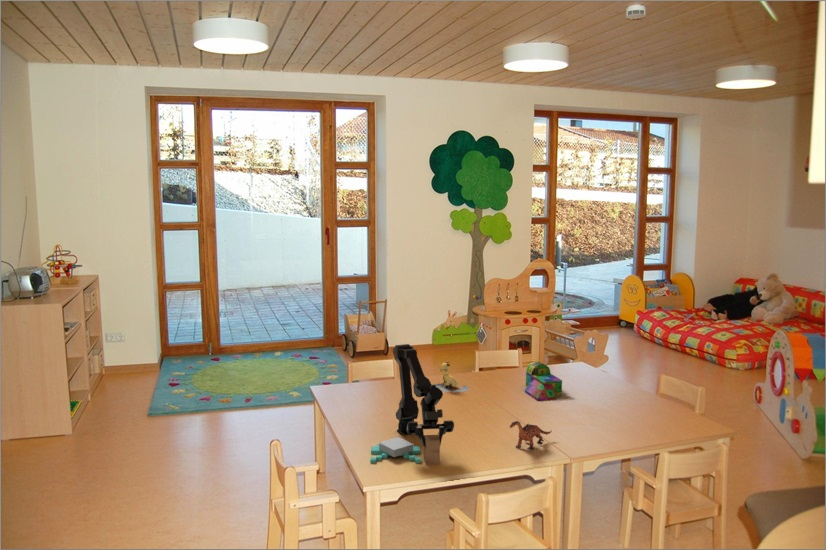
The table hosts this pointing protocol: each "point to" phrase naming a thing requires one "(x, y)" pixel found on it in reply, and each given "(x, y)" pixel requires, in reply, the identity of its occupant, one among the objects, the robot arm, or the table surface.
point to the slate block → (396, 447)
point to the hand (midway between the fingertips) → (432, 447)
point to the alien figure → (384, 455)
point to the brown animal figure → (529, 434)
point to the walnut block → (432, 449)
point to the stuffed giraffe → (449, 380)
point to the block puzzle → (542, 382)
